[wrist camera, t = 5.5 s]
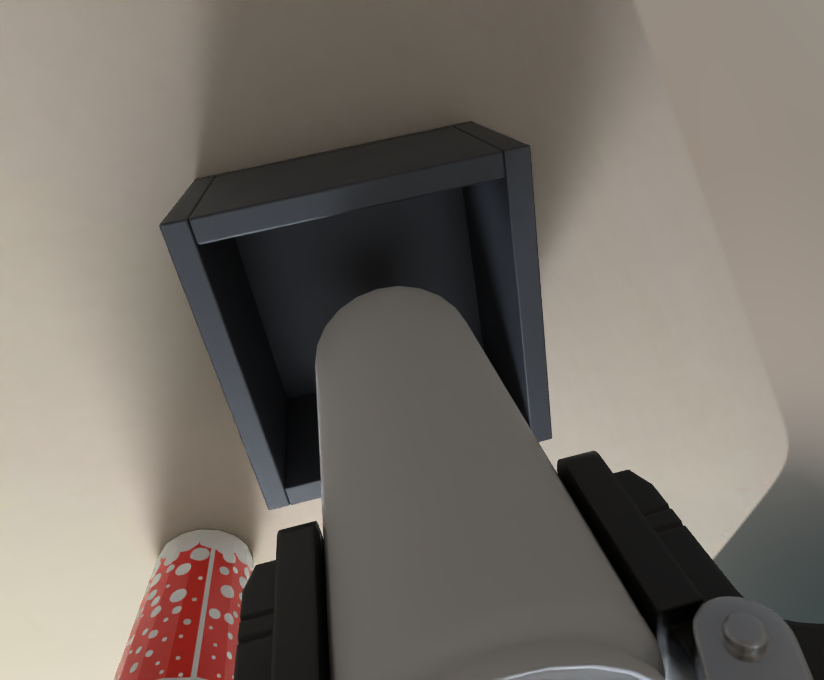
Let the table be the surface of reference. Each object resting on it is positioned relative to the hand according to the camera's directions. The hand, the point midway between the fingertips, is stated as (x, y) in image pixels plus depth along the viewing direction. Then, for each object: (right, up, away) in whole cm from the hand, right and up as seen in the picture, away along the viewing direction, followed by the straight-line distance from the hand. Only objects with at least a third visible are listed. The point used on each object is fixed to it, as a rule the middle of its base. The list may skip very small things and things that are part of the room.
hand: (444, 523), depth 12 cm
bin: (-3, +6, +13) cm, 14 cm away
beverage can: (-1, +3, +7) cm, 8 cm away
